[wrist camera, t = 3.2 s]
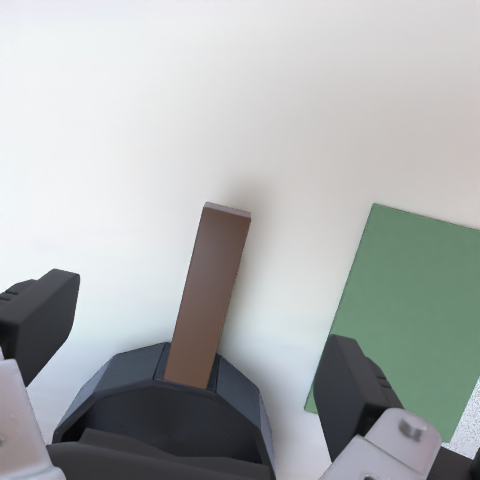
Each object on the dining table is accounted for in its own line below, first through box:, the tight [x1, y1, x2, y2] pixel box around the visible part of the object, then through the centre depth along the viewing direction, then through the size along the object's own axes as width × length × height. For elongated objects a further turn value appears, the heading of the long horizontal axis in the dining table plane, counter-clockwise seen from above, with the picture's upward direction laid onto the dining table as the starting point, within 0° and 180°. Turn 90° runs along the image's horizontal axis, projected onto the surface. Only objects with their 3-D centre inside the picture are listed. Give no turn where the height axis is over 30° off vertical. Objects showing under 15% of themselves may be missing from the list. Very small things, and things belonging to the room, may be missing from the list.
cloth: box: [304, 204, 480, 443], centre depth 26 cm, size 14×10×1 cm
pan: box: [52, 202, 276, 480], centre depth 25 cm, size 23×13×4 cm, turn 166°
